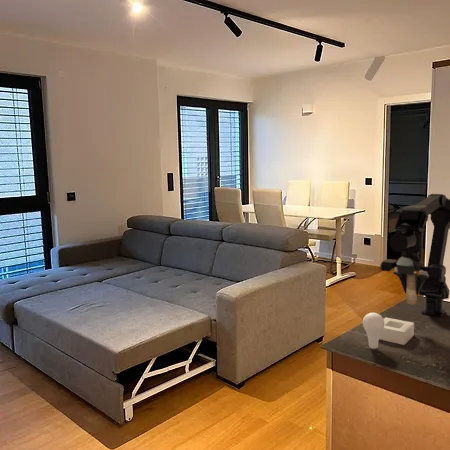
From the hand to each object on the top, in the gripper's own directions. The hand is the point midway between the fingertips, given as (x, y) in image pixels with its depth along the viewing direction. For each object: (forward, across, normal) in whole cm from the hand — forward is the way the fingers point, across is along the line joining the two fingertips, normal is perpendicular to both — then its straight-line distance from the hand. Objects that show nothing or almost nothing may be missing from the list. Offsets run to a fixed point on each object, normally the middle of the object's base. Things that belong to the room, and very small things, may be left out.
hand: (411, 293), depth 146 cm
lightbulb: (+12, -4, -22) cm, 25 cm away
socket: (+12, -2, -10) cm, 15 cm away
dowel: (+3, 0, 0) cm, 3 cm away
